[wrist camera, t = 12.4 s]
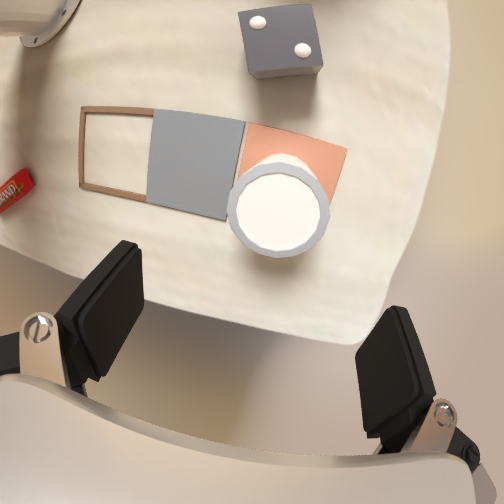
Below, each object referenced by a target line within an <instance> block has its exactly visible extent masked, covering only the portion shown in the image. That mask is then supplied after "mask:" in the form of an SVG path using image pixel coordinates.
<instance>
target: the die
mask: <svg viewBox="0 0 504 504" xmlns="http://www.w3.org/2000/svg"><path fill="white" fill-rule="evenodd" d="M238 16H239V21H240V26H241V32H242V37H243V43H244V48H245V54H246V59H247V65H248V71H249V73H250V74H251V75H253V76H254V77H255V78H257V79H266V78H274V77H283V76H293V75H307V74H318V72H319V71H320V69H321V68H322V67H323V60H322V54H321V49H320V44H319V38H318V33H317V29H316V24H315V19H314V15H313V11H312V6H311V4H302V5H288V6H277V7H268V8H261V9H254V10H248V11H242V12H238Z"/></svg>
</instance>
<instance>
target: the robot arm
mask: <svg viewBox="0 0 504 504" xmlns="http://www.w3.org/2000/svg"><path fill="white" fill-rule="evenodd" d="M79 1H80V0H0V37H10V36H19V37H20V41H21V42H22V44H23V45H24V46H27V47H37V46H41V45H43V44H45V43H46V42H48V41H49V40H50V39H52V38H53V37H54V36H55V35H56V34H57V33H58V32H59V31H60V30H61V28H62V27H63V26H64V25H65V24H66V22H67V21H68V20H69V18H70V17H71V15H72V14H73V12H74V10H75V9H76V7H77V5H78V3H79ZM143 307H144V292H143V275H142V252H141V249H139V248H138V245H137V244H136V243H132V242H129V241H125V240H122V241H121V242H119V244H118V245H117V246H116V247H115V248H114V249H113V250H112V251H111V252H110V253H109V254H108V255H107V256H106V257H105V258H104V259H103V260H102V261H101V262H100V263H99V265H98V266H97V267H96V268H95V269H94V270H93V271H92V272H91V273H90V274H89V275H88V276H87V277H86V278H85V280H84V281H83V282H82V283H81V284H80V285H79V286H78V288H77V289H76V290H75V291H74V292H73V294H72V295H71V296H70V297H69V298H68V300H67V301H66V302H65V303H64V304H63V305H62V307H61V308H60V309H59V310H58V312H57V313H56V314H55V315H54V317H53V316H52V315H51V314H49V313H46V312H37V313H34V314H31V315H30V316H28V317H27V318H26V319H25V320H24V321H23V323H22V325H21V327H20V332H16V333H13V334H9V335H4V336H0V504H494V502H495V500H496V488H495V486H494V484H493V482H492V481H491V479H490V477H489V475H488V474H487V472H486V470H485V469H484V467H483V465H482V463H480V464H479V461H480V453H479V449H478V447H477V445H476V444H475V443H474V442H473V441H472V440H470V439H469V438H468V437H467V436H466V435H465V434H464V433H463V432H462V431H460V430H459V429H458V428H457V427H456V424H457V413H456V410H455V408H454V407H453V405H452V404H451V403H450V402H449V401H447V400H446V399H442V398H440V399H436V400H435V401H434V400H433V397H434V396H435V395H436V391H435V387H434V384H433V381H432V377H431V374H430V371H429V368H428V365H427V362H426V359H425V356H424V353H423V350H422V347H421V344H420V341H419V339H418V336H417V333H416V331H415V328H414V325H413V323H412V320H411V318H410V315H409V313H408V311H407V309H406V308H404V307H399V306H391V307H390V308H388V309H386V310H385V312H384V313H383V315H382V316H381V318H380V319H379V321H378V322H377V324H376V325H375V327H374V328H373V330H372V331H371V333H370V334H369V335H368V337H367V338H366V340H365V341H364V342H363V344H362V345H361V347H360V348H359V349H358V351H357V353H356V356H355V362H356V368H357V376H358V383H359V391H360V399H361V408H362V417H363V428H364V430H365V432H367V438H379V437H380V440H381V442H380V444H379V445H378V447H377V448H376V450H375V451H374V452H373V454H372V455H361V456H360V455H358V456H321V455H302V454H289V453H279V452H270V451H263V450H256V449H249V448H243V447H237V446H232V445H227V444H222V443H218V442H213V441H209V440H205V439H201V438H197V437H193V436H189V435H186V434H182V433H179V432H175V431H172V430H169V429H166V428H162V427H159V426H156V425H153V424H151V423H148V422H145V421H142V420H140V419H137V418H134V417H132V416H129V415H127V414H124V413H122V412H119V411H117V410H114V409H112V408H109V407H107V406H104V405H102V404H100V403H98V402H96V401H94V400H91V399H89V398H88V396H87V393H86V389H85V385H84V383H85V382H86V381H87V379H88V378H90V379H92V380H95V381H97V382H98V381H99V380H100V378H101V376H103V377H104V376H106V374H107V373H108V371H109V369H110V367H111V365H112V363H113V361H114V359H115V358H116V356H117V354H118V352H119V350H120V349H121V347H122V345H123V343H124V341H125V340H126V338H127V336H128V334H129V333H130V331H131V329H132V327H133V325H134V324H135V322H136V320H137V319H138V317H139V315H140V314H141V312H142V310H143Z"/></svg>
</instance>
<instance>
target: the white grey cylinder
mask: <svg viewBox="0 0 504 504" xmlns="http://www.w3.org/2000/svg"><path fill="white" fill-rule="evenodd" d="M227 214H228V218H229V222H230V226H231V229H232V230H233V232H234V233H235V235H236V236H237V237H238V239H239V240H240V241H241V243H242V244H244V245H245V246H247V247H248V248H250V249H251V250H253V251H254V252H256V253H257V254H261V255H265V256H269V257H273V258H282V257H293V256H296V255H298V254H300V253H303V252H305V251H307V250H309V249H311V248H312V247H313V246H314V245H315V244H316V243H317V242H318V241H319V239H320V238H321V237H322V236H323V235H324V233H325V230H326V227H327V224H328V221H329V219H330V211H329V200H328V197H327V195H326V193H325V191H324V189H323V188H322V186H321V184H320V182H319V181H318V179H317V178H316V176H315V175H314V174H313V173H312V171H311V170H310V169H309V167H308V166H307V165H306V164H305V163H304V162H303V161H301V160H300V159H298V158H297V157H295V156H292V155H288V154H284V153H283V154H276V155H270V156H269V157H267V158H265V159H264V160H262V161H260V162H259V163H257V164H256V165H255V166H253V167H252V168H251V169H249V170H248V171H247V172H245V173H244V174H243V175H241V176H240V178H239V179H238V181H237V182H236V184H235V185H234V186H233V188H232V189H231V191H230V193H229V199H228V205H227Z"/></svg>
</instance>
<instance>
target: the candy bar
mask: <svg viewBox="0 0 504 504" xmlns="http://www.w3.org/2000/svg"><path fill="white" fill-rule="evenodd" d="M34 185H35V184H34V183H33V181H32V179H31V177H30V176H29V174H28V171H27V169H26V168H24V169H22V170H20V171H19V172H17V173H16V174H15V175H14V176H12V177H11V178H10V179H9V180H8V181H7V182H6V183H5V184H4V185H2V186H1V187H0V213H1V212H2V211H4V210H5V209H6V208H8V207H9V206H10V205H12V204H13V203H15V202H16V201H17V200H19V199H20V198H22V197H23V196H24V195H26V194H27V193H28V192H29V191H30V190H31V189H32V187H34Z"/></svg>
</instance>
